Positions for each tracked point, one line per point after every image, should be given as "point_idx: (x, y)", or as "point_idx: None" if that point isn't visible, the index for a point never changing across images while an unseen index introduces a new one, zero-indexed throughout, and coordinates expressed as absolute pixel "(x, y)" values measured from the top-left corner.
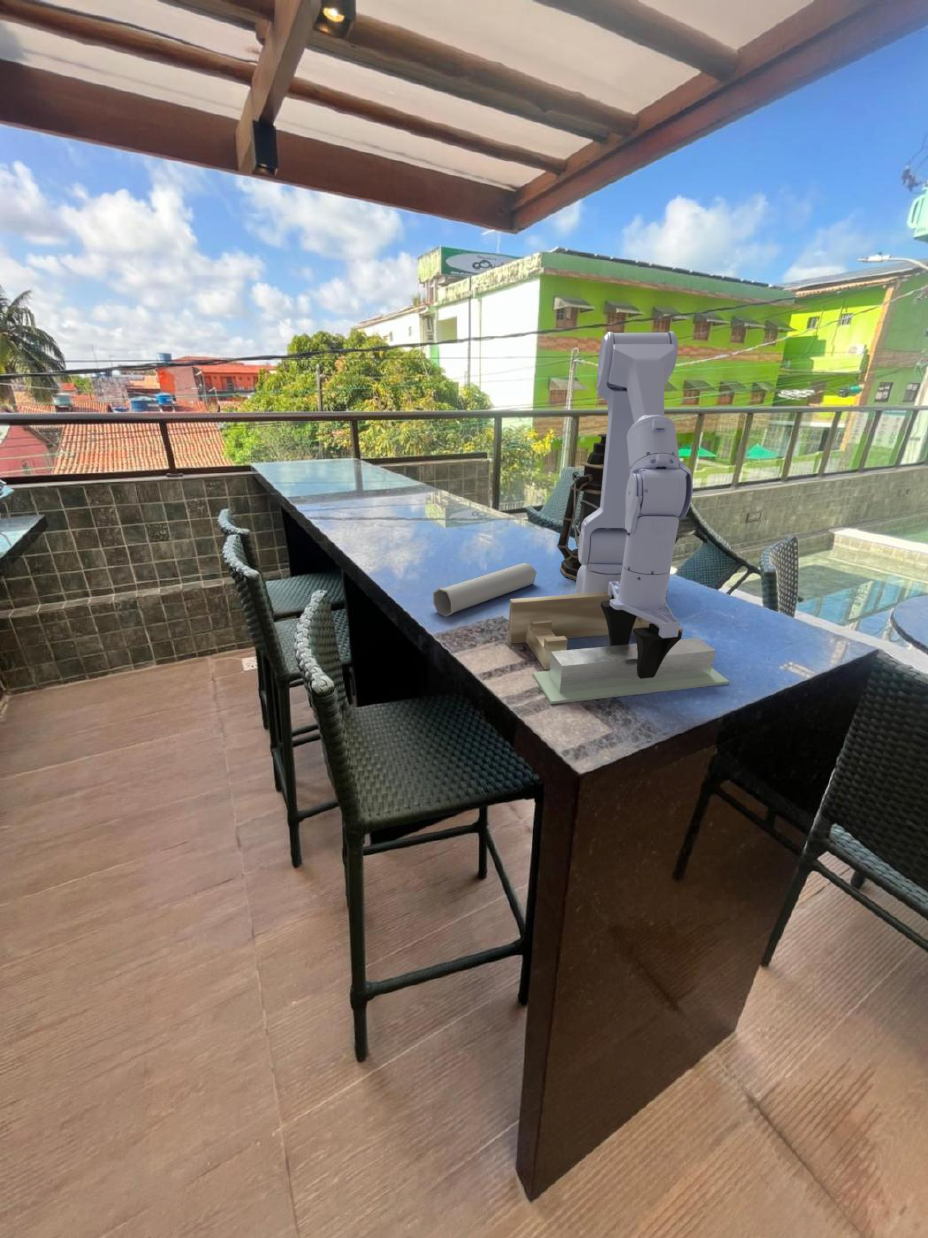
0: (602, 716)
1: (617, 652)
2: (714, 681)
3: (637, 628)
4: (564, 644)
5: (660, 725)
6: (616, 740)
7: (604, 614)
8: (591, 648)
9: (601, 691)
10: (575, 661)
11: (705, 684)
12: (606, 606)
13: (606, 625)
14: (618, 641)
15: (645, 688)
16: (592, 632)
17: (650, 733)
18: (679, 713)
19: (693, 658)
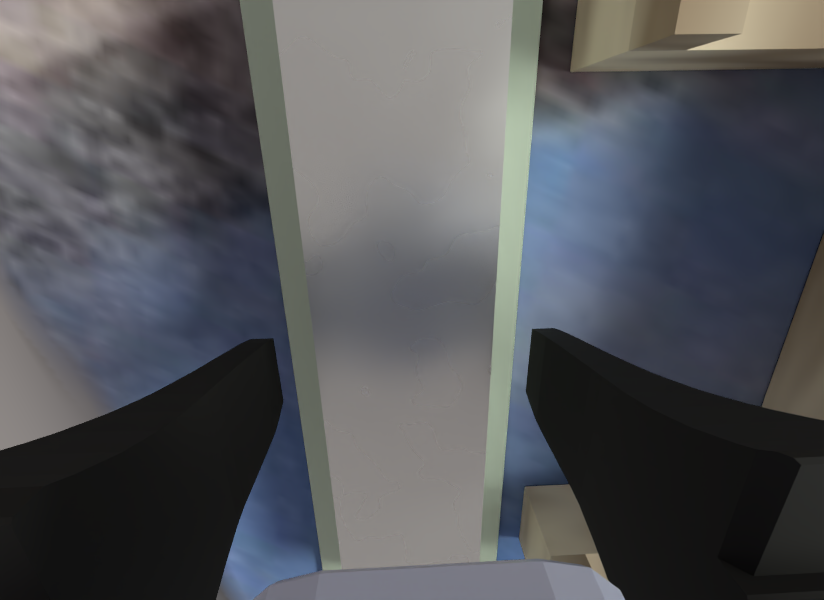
0: (115, 81)
1: (404, 316)
2: (329, 561)
3: (13, 561)
4: (655, 19)
5: (70, 294)
6: None
7: (762, 408)
8: (494, 174)
9: None
10: None
11: (317, 533)
12: (804, 477)
13: (813, 414)
14: (550, 380)
15: (308, 350)
16: (807, 338)
17: (7, 233)
18: (157, 389)
19: None
